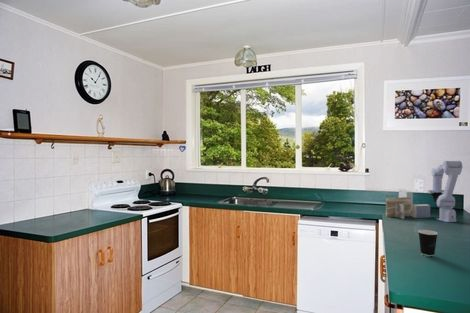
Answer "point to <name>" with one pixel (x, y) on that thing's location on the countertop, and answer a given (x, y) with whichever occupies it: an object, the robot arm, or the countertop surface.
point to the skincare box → (406, 195)
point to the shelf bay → (398, 207)
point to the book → (421, 211)
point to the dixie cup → (427, 241)
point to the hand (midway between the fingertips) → (436, 202)
